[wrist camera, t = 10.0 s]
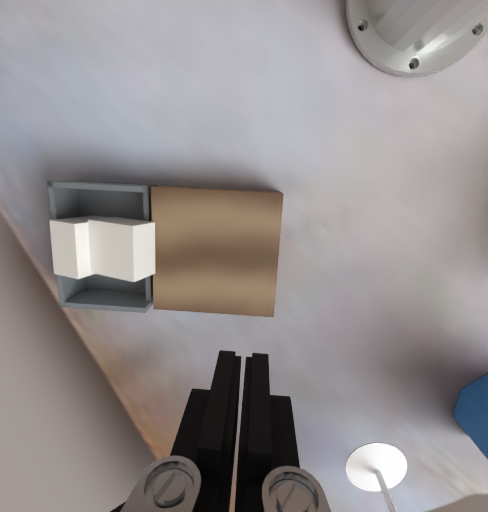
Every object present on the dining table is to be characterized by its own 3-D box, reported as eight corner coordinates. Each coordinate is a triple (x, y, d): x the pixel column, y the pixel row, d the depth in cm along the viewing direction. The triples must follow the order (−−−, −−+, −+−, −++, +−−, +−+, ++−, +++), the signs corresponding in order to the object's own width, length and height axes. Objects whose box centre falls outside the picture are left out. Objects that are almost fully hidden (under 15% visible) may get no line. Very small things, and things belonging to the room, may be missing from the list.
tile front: (112, 216, 31) (87, 219, 28) (155, 222, 29) (132, 226, 26) (114, 265, 32) (91, 272, 29) (155, 273, 30) (134, 282, 27)
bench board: (162, 185, 32) (151, 186, 28) (280, 192, 31) (283, 193, 28) (164, 296, 35) (153, 308, 31) (272, 303, 34) (273, 317, 31)
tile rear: (117, 218, 31) (94, 215, 32) (74, 223, 27) (49, 220, 28) (118, 266, 32) (96, 261, 33) (78, 279, 28) (54, 273, 29)
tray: (76, 180, 32) (47, 181, 28) (157, 185, 32) (141, 186, 27) (84, 290, 35) (59, 306, 31) (159, 295, 35) (145, 312, 30)
